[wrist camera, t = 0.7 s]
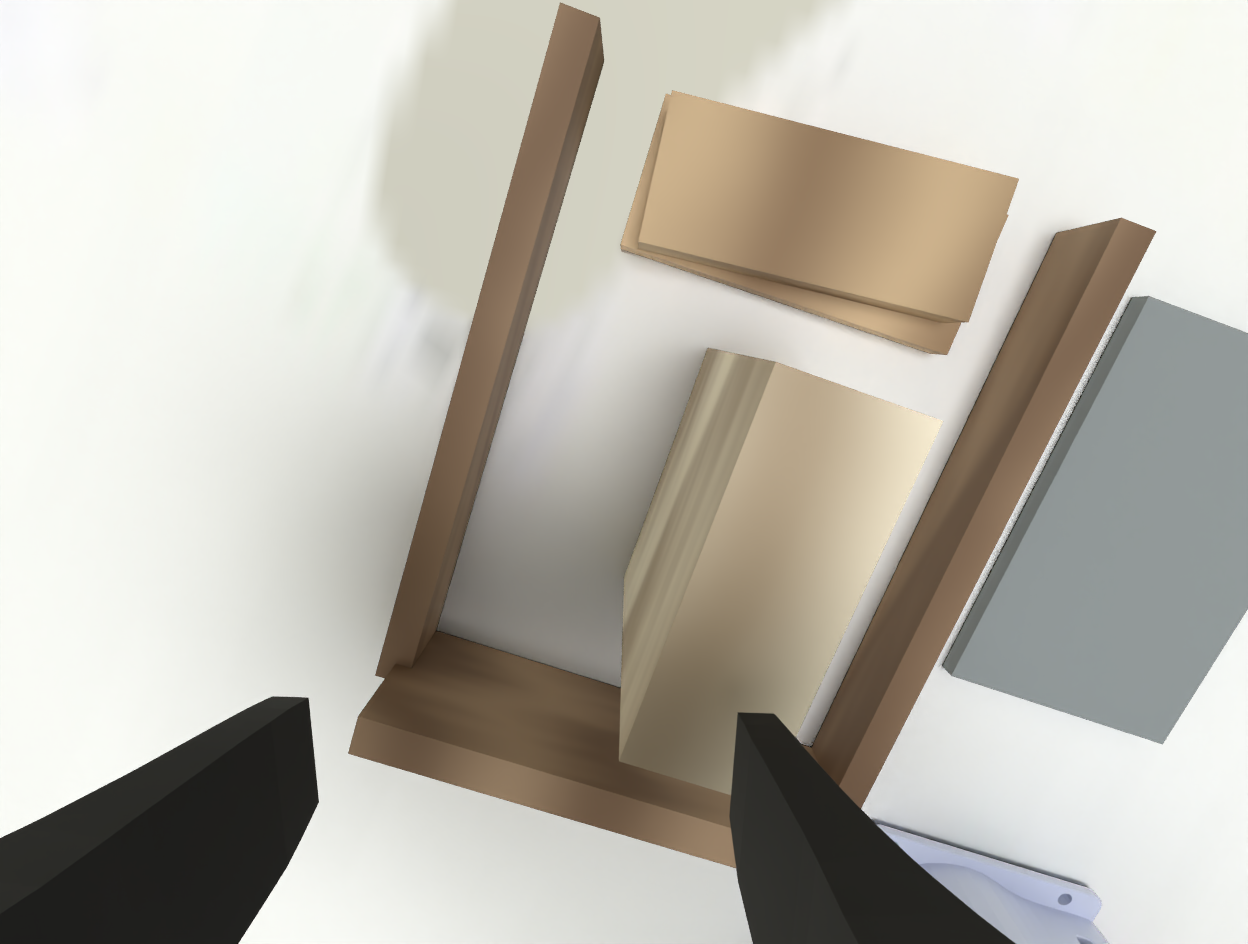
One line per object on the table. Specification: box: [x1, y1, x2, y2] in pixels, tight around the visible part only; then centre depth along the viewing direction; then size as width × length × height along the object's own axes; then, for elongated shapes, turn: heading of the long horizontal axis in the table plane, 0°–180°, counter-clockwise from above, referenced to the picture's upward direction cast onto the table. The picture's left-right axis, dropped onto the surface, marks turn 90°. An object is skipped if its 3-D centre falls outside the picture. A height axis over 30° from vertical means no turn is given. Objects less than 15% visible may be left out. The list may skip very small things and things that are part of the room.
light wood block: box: [619, 348, 943, 795], centre depth 15 cm, size 3×8×9 cm, turn 161°
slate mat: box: [943, 296, 1248, 744], centre depth 19 cm, size 8×13×1 cm, turn 161°
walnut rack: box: [348, 3, 1156, 868], centre depth 17 cm, size 16×20×5 cm
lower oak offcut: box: [620, 94, 1008, 355], centre depth 18 cm, size 10×4×2 cm, turn 72°
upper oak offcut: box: [638, 91, 1019, 323], centre depth 16 cm, size 9×4×1 cm, turn 77°
